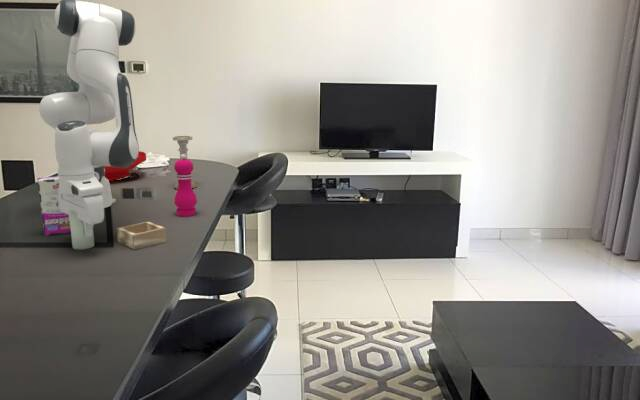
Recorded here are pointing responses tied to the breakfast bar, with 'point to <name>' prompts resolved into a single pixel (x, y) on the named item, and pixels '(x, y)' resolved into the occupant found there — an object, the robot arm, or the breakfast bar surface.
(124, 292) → the breakfast bar surface
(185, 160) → the pepper mill
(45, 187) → the candy bar box
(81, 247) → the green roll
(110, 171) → the bowl
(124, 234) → the square wooden tray
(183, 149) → the candle holder
